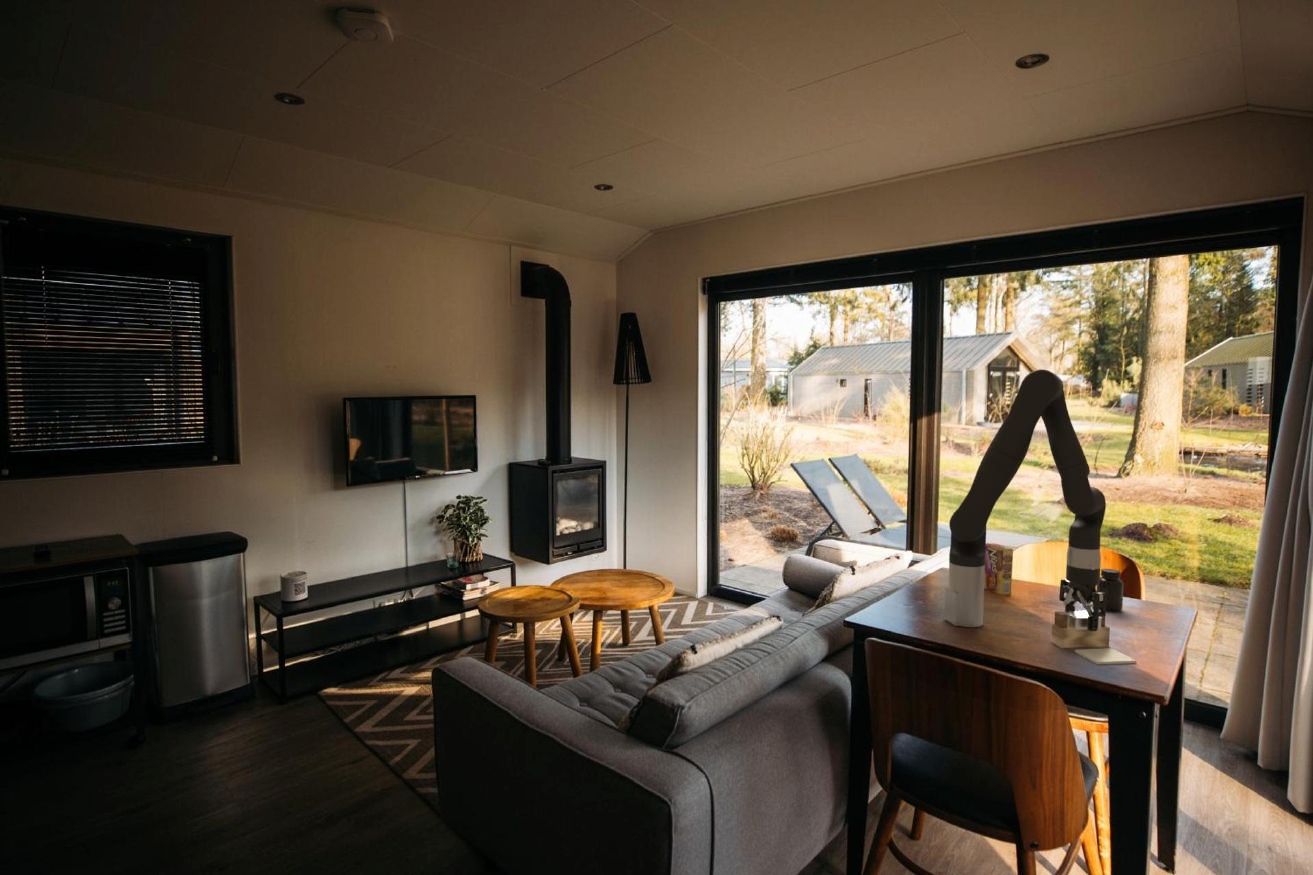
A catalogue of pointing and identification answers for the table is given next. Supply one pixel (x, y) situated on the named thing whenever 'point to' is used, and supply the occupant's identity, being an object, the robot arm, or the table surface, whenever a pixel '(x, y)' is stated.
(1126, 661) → the mat
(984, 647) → the table surface
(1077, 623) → the lever cap
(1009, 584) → the candy box
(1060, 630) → the body
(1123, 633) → the table surface
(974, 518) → the robot arm
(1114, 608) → the supplement bottle
